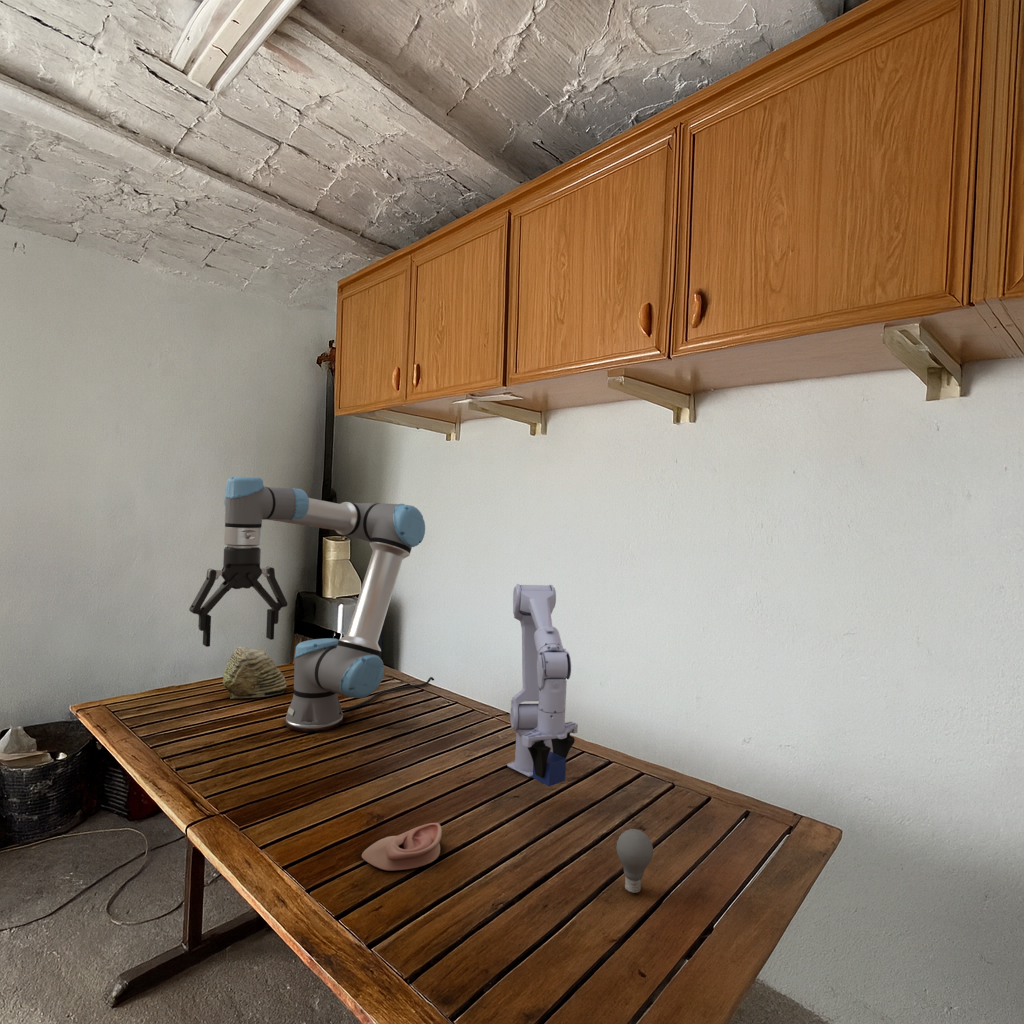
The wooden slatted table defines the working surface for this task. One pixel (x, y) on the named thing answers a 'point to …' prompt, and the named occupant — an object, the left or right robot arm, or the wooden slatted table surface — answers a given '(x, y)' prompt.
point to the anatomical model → (406, 849)
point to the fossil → (252, 674)
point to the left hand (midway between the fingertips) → (239, 642)
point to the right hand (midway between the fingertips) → (548, 772)
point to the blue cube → (553, 770)
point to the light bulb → (634, 857)
